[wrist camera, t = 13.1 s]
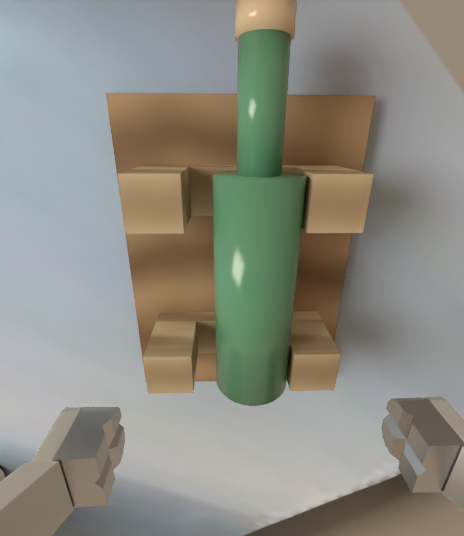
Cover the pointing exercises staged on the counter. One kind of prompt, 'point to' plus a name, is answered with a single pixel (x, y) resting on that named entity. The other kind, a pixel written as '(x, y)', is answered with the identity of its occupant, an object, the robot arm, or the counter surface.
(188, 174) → the bottle rest
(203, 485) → the counter surface
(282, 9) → the bottle
